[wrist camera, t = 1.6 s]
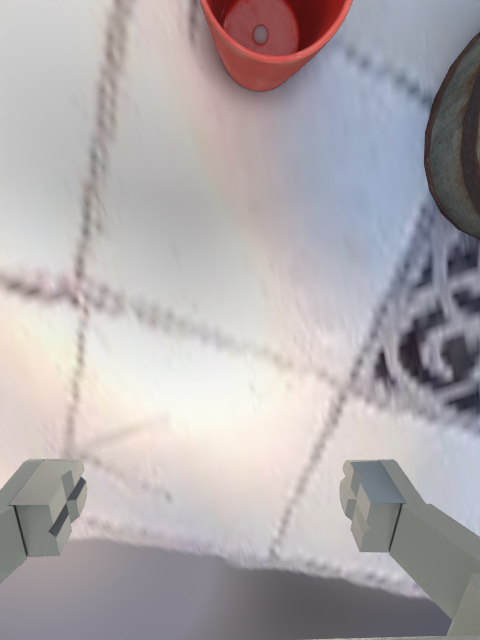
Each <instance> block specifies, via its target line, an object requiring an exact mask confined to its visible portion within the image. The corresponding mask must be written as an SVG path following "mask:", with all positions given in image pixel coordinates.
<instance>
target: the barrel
mask: <svg viewBox="0 0 480 640" xmlns="http://www.w3.org/2000/svg"><path fill="white" fill-rule="evenodd" d="M424 166H425V171H426V176H427V181H428V186H429V191H430V193H431V195H432V197H433V199H434V200H435V202H436V204H437V206H438V208H439V210H440V212H441V213H442V214H443V215H444V216H445V217H446V218H447V219H448V220H449V221H450V222H451V223H452V224H453V225H454V226H455V227H456V228H457V229H458V230H460V231H462V232H465V233H467V234H469V235H471V236H473V237H475V238H477V239H480V32H479V33H478V34H477V35H476V36H475V37H473V39H472V40H471V41H470V42H469V44H468V45H467V46H466V48H465V49H464V50H463V51H462V53H461V54H460V55H459V56H458V58H457V59H456V60H455V62H454V63H453V64H452V65H451V67H450V69H449V71H448V73H447V75H446V77H445V79H444V81H443V83H442V85H441V87H440V89H439V91H438V93H437V95H436V97H435V99H434V102H433V105H432V109H431V113H430V117H429V120H428V124H427V128H426V132H425V150H424Z"/></svg>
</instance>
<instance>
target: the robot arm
mask: <svg viewBox="0 0 480 640" xmlns="http://www.w3.org/2000/svg"><path fill="white" fill-rule="evenodd" d="M83 472H84V466H83V461H81V460H68V459H29V460H27V461H25V462H24V463H23V464H22V465H21V466H20V467H19V469H18V470H17V471H16V472H15V473H14V475H13V476H12V477H11V478H10V479H9V480H8V482H7V483H6V484H5V485H4V486H3V488H2V489H1V490H0V584H1V583H2V582H3V581H4V580H5V579H6V578H7V577H8V576H9V575H10V574H11V573H12V572H14V571H15V570H16V569H17V568H18V567H19V566H20V565H21V564H22V563H23V562H24V561H25V560H27V557H41V556H60V554H61V552H62V550H63V548H64V546H65V544H66V542H67V540H68V538H69V536H70V534H71V532H72V530H71V523H72V522H73V521H75V520H76V519H77V518H78V517H79V516H80V514H81V512H82V510H83V508H84V504H85V501H86V497H87V484H86V481H85V480H84V479H83V478H82V477H81V475H82V473H83ZM343 472H344V474H345V476H346V477H345V478H344V479H342V480H341V483H340V501H341V505H342V508H343V511H344V513H345V515H346V516H347V517H348V518H349V519H350V520H351V521H352V525H351V531H352V534H353V536H354V539H355V541H356V544H357V546H358V549H359V551H360V552H390V553H389V554H390V556H391V557H392V558H393V559H394V560H395V561H396V562H397V563H398V564H399V565H400V566H401V567H402V568H403V569H404V570H405V571H406V572H407V573H408V574H409V575H410V576H411V577H412V578H413V580H414V581H415V582H416V583H417V584H418V585H419V586H420V587H421V588H422V589H423V590H424V591H425V592H426V593H427V594H428V595H429V596H430V597H431V598H432V599H433V600H434V601H435V603H436V604H437V605H438V606H439V607H440V608H441V609H442V610H443V611H444V612H445V613H446V614H447V615H448V616H449V617H450V618H451V619H452V620H453V622H452V624H451V627H450V629H449V632H448V634H447V636H432V637H431V636H429V637H392V638H353V639H317V640H480V537H479V536H478V535H476V534H475V533H473V532H472V531H470V530H469V529H467V528H466V527H464V526H463V525H461V524H460V523H458V522H457V521H455V520H454V519H452V518H451V517H449V516H448V515H446V514H445V513H444V512H442V511H441V510H439V509H438V508H436V507H435V506H433V505H432V504H426V503H425V502H424V500H423V499H422V498H421V496H420V495H419V493H418V492H417V490H416V489H415V488H414V486H413V485H412V483H411V482H410V480H409V479H408V478H407V476H406V475H405V473H404V472H403V470H402V469H401V468H400V466H399V465H398V463H397V462H396V461H394V460H346V461H345V463H344V466H343Z"/></svg>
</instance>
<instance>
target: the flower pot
mask: <svg viewBox="0 0 480 640" xmlns="http://www.w3.org/2000/svg"><path fill="white" fill-rule="evenodd" d="M352 1H353V0H200V3H201V6H202V9H203V12H204V15H205V18H206V20H207V23H208V26H209V29H210V31H211V34H212V37H213V40H214V43H215V45H216V48H217V50H218V53H219V55H220V58H221V60H222V62H223V64H224V66H225V68H226V70H227V71H228V73H229V74H230V76H231V77H232V78H233V79H234V80H235V81H236V82H237V83H238V84H240V85H241V86H243V87H245V88H247V89H249V90H253V91H268V90H272V89H274V88H276V87H278V86H280V85H281V84H282V83H284V82H285V81H286V80H287V79H289V78H290V77H291V76H293V75H294V74H295V73H296V72H297V71H299V70H300V69H301V68H302V67H303V66H304V65H305V64H306V63H307V62H308V61H309V60H310V59H312V58H313V57H314V56H315V55H316V54H317V53H318V52H319V51H320V50H321V49H322V48H323V47H324V46H325V44H326V43H327V42H328V41H329V40H330V39H331V38H332V37H333V35H334V34H335V33H336V32H337V30H338V29H339V27H340V26H341V24H342V23H343V21H344V19H345V17H346V16H347V13H348V11H349V9H350V7H351V4H352Z"/></svg>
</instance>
